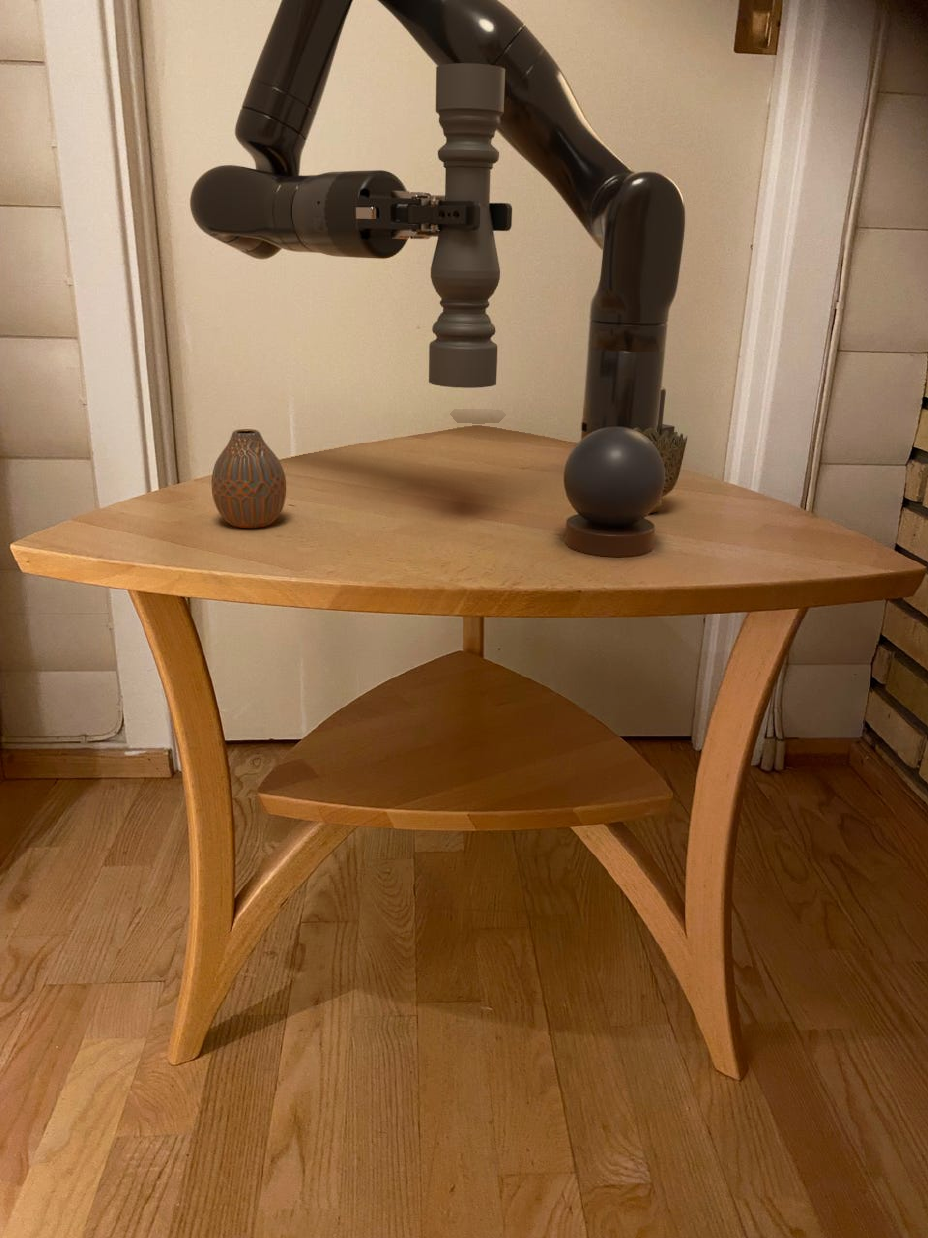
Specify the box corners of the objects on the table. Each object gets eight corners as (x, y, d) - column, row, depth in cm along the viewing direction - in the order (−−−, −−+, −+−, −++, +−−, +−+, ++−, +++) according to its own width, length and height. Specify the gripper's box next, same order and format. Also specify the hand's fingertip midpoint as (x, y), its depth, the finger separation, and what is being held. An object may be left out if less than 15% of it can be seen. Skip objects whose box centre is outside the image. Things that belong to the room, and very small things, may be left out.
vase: (300, 518, 94) (297, 428, 91) (264, 536, 88) (259, 440, 85) (239, 510, 96) (233, 422, 93) (199, 527, 90) (192, 434, 87)
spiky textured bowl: (635, 523, 95) (642, 442, 92) (592, 505, 101) (598, 429, 98) (694, 515, 98) (703, 437, 95) (649, 499, 104) (656, 425, 101)
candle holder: (489, 389, 84) (501, 62, 75) (421, 385, 85) (424, 62, 76) (501, 379, 90) (514, 74, 80) (437, 376, 91) (442, 74, 81)
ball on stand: (605, 525, 94) (613, 415, 90) (678, 547, 88) (691, 430, 84) (539, 540, 89) (545, 424, 85) (612, 565, 82) (623, 440, 78)
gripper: (291, 165, 84) (439, 160, 74) (403, 175, 94) (545, 172, 84) (295, 257, 87) (437, 264, 77) (403, 257, 97) (541, 263, 87)
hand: (493, 216), depth 81 cm, fingers closed on candle holder, 3 cm apart
